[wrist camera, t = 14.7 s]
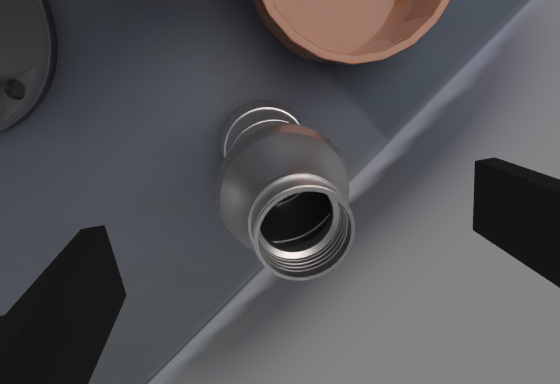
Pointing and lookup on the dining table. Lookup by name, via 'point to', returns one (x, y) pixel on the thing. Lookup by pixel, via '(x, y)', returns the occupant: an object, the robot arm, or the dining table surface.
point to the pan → (349, 27)
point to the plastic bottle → (284, 191)
